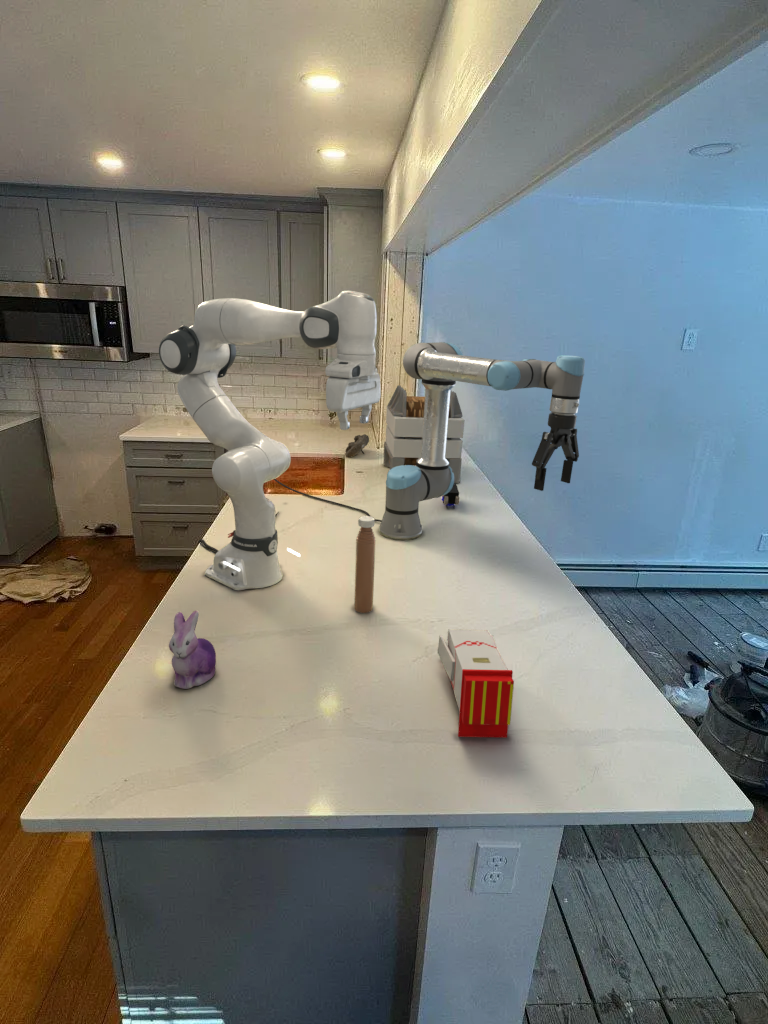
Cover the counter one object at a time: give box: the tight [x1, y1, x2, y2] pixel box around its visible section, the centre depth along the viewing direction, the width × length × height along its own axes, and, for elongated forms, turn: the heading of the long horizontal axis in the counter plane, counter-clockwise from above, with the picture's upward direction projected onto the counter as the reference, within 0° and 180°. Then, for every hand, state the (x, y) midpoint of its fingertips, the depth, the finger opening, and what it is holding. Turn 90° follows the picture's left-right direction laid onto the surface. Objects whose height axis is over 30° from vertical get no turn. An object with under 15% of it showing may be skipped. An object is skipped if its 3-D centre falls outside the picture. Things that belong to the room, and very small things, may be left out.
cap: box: [357, 515, 376, 528], centre depth 141 cm, size 4×4×2 cm
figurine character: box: [441, 483, 460, 509], centre depth 231 cm, size 7×8×15 cm
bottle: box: [353, 527, 376, 614], centre depth 145 cm, size 5×5×25 cm
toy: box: [437, 628, 515, 738], centre depth 117 cm, size 12×13×30 cm
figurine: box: [168, 610, 217, 690], centre depth 117 cm, size 9×10×15 cm
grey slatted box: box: [383, 384, 465, 484], centre depth 268 cm, size 34×33×41 cm
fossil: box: [344, 433, 370, 458], centre depth 304 cm, size 22×10×15 cm
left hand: (354, 426), depth 135 cm, fingers open, 8 cm apart
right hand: (552, 485), depth 166 cm, fingers open, 13 cm apart
